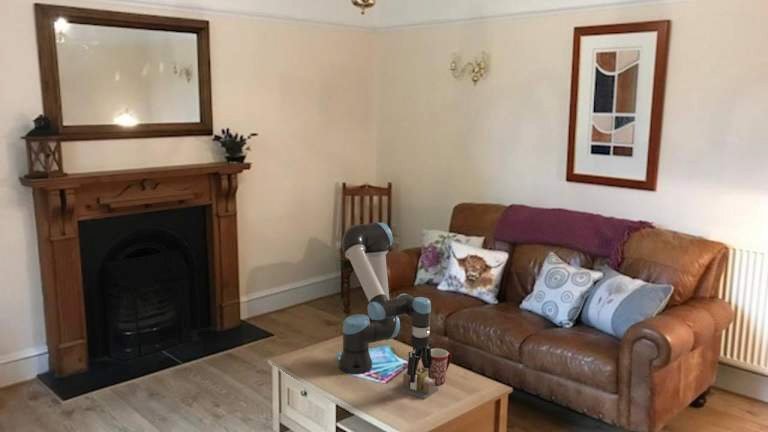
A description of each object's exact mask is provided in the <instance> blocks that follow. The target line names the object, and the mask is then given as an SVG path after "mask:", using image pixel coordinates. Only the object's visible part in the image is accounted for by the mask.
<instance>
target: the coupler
mask: <svg viewBox="0 0 768 432" xmlns="http://www.w3.org/2000/svg"><path fill="white" fill-rule="evenodd" d="M427 373H428V370H425V369H422V367H419V366H418V367H417V372H416V375H417V390H418V391H420V392H421V391H423V390H424V386H423V380H424V378H425V377H427Z"/></svg>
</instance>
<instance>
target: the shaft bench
mask: <svg viewBox="0 0 768 432" xmlns="http://www.w3.org/2000/svg"><path fill="white" fill-rule="evenodd" d="M402 378H403V382H402V385H401V386H399V388H398V389H399V390H400V391H402V392H404V393H408V394H410V395H412V396H415V397H418V398H420V399H423V400H426V399H428V398H429V397H430V396H432V395H434V394H435V393H436V392H437V391H439V388H438V387H436V385H435V380H434V379H432V378H429V377H425V378H424V380H423V386H424V390H423V391H421V392H420V391H418V390H414V389H411V388H410V375H408V374H407V371H405V373H403V377H402Z"/></svg>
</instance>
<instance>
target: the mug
mask: <svg viewBox="0 0 768 432" xmlns="http://www.w3.org/2000/svg"><path fill="white" fill-rule="evenodd" d="M451 361H452V354H451V353H450V352H448V351H447V350H446V349H443V348H431V365H429V366H431V367H430V368H428V377H429V378H432V379H434V380H435V386H441V385H444V384H445V382H446V375H447V371H448V369H449V367H450V365H451ZM428 362H429V361H428Z"/></svg>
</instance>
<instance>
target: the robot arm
mask: <svg viewBox="0 0 768 432" xmlns="http://www.w3.org/2000/svg"><path fill="white" fill-rule="evenodd" d="M393 238H394V237H393V233H392V231H391V229H390V227H389V225H387V224H386V223H385V222H371V223H364V224H363V223H362V224H354V225H352V226H350V227H349V228H347V230H346V231H345V232H344V233H343V237H342V240H341V241H342V242H341V246H342V251H343V254H344V256H345V258H346V259H347V260H348V259H349V261H350V263H351V266H352V267H353V270H354V272H355V275H356V276H357V279H358V281H359V282H360V285H361V287H362V289H363V291H364V294H365V297H366V298H367V301H368V302H369V303H368V305H367V308H366V309H367V314H363V313H360V314H359V313H355V314H352V315H349V316H347V317H346V318H345V319H344V321H343V324H342V325H343V326H342V352H341V355H340V358H339V360H338V368H339V369H340V370H341V371H342V372H345V373H349V374H364V373H366V372H367V373H368V372H369V371H371V370H372V368H373V360H372V358H371V355H370V352H369V348H370V347H369V344H372V343H377V342H382V341H388V340H391V339H393V338H396V337H397V335H398V334H399V332H400V329H401V322H400V320H401V319H400V318H399V317H400V316H409V317H410V318H411V339H410V340H411V342H410V343H411V344H412V345H413V346H412V351H409V352H408V353H407V354H408V363H407V371H406V372H407V374H408V375H410V388H411V389H414V390H417V375H416V372H417V367H419V363H420V361H421V365H422V366H421V368H422V369H425V370H428V368H430V367H431V366H429V365H431V349H432V344H431V342H430V339H431V336H430V333H431V328H430V327H431V316H432V315H431V313H432V305H431V304H432V303H431V300H430V299H429V298H427V297H423V296H417V297H413V296H412V295H409V294H407V293H400V294H399V295H397V296H396V297H395V298H390V293H389V292H390V289H389V278H388V268H387V258H386V257H387V256H386V255H387V254H388V253H389V247H391V246H392V245H393V241H394V239H393ZM428 361H429V362H428ZM427 377H428V373H427Z"/></svg>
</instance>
